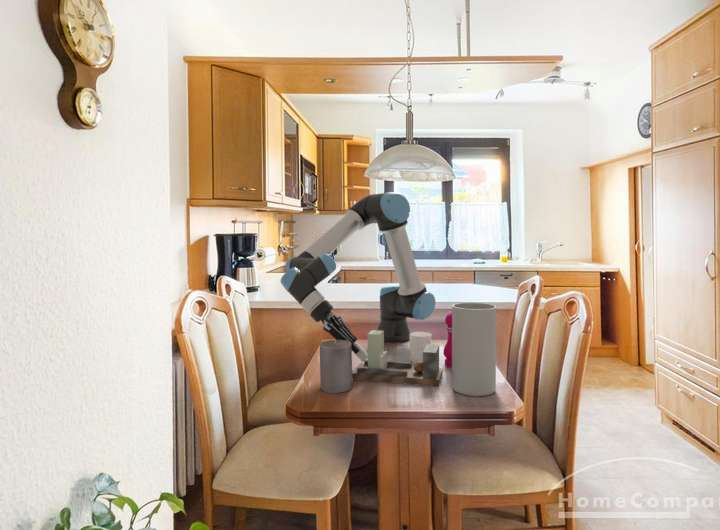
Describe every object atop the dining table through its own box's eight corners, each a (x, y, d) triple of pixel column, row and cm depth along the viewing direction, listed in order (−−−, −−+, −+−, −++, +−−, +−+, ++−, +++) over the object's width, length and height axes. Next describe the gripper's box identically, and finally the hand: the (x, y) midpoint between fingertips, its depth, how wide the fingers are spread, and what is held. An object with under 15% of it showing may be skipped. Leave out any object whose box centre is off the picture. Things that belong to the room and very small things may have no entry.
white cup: (435, 360, 167) (435, 333, 166) (425, 365, 160) (425, 337, 159) (415, 357, 171) (415, 330, 170) (405, 362, 165) (405, 334, 164)
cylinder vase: (468, 380, 144) (468, 301, 142) (503, 389, 135) (504, 305, 133) (443, 389, 136) (443, 306, 134) (479, 400, 127) (480, 311, 125)
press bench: (350, 379, 146) (349, 348, 145) (360, 368, 158) (359, 340, 157) (439, 386, 139) (439, 353, 138) (442, 374, 150) (442, 344, 150)
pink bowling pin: (464, 368, 156) (464, 310, 155) (443, 367, 157) (443, 310, 156) (464, 362, 163) (464, 307, 162) (443, 361, 165) (443, 306, 163)
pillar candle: (328, 381, 145) (327, 334, 144) (357, 384, 141) (356, 336, 140) (314, 391, 136) (313, 342, 135) (345, 395, 132) (343, 344, 131)
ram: (367, 371, 147) (367, 334, 146) (372, 365, 154) (372, 329, 153) (382, 372, 146) (382, 335, 145) (387, 366, 152) (386, 330, 152)
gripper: (317, 310, 160) (363, 360, 157) (302, 317, 148) (352, 372, 145) (331, 296, 159) (378, 346, 155) (317, 302, 146) (368, 356, 143)
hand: (366, 358), depth 150 cm, fingers closed
